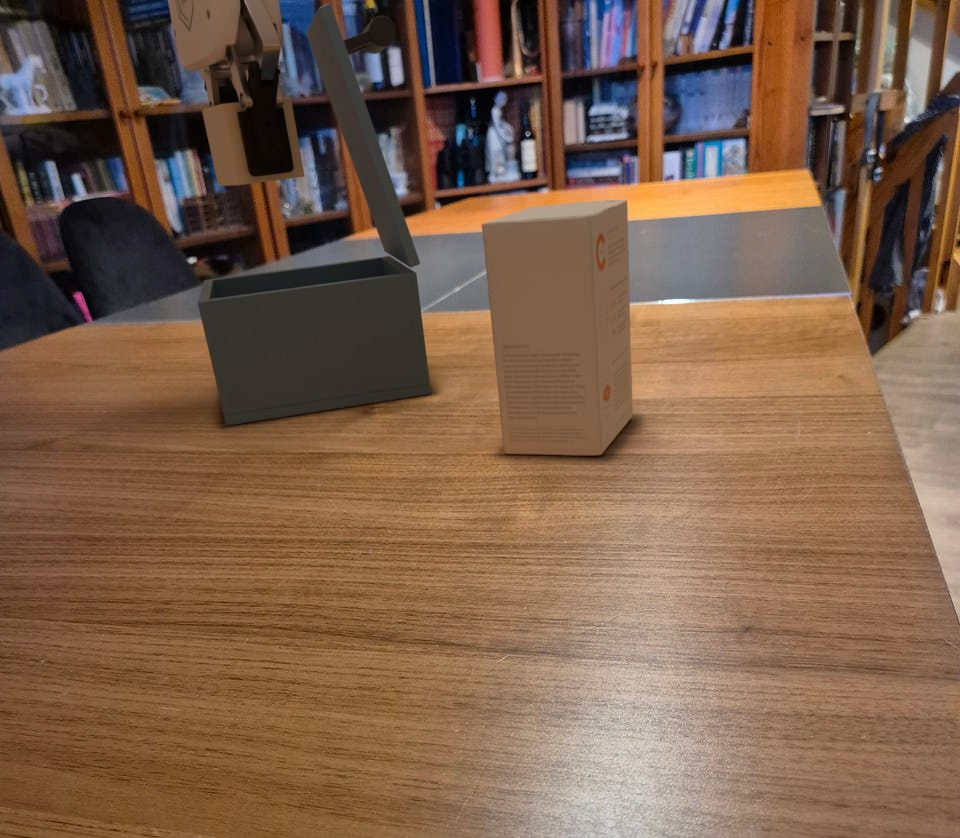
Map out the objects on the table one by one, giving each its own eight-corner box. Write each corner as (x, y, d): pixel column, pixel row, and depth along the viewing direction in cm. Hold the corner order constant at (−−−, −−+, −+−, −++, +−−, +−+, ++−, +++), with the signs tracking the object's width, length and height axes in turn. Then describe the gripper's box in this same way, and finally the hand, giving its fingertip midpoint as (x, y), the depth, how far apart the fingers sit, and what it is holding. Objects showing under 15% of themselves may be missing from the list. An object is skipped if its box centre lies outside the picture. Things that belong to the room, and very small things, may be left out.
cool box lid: (318, 7, 59) (391, -22, 59) (305, 32, 70) (366, 8, 71) (410, 268, 67) (474, 242, 67) (384, 251, 79) (439, 230, 79)
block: (238, 185, 65) (222, 103, 63) (218, 186, 69) (201, 109, 67) (304, 176, 67) (291, 97, 65) (281, 178, 71) (267, 103, 69)
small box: (542, 417, 63) (527, 205, 56) (634, 417, 60) (630, 197, 54) (500, 455, 56) (478, 221, 50) (602, 457, 54) (592, 212, 48)
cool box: (226, 426, 69) (197, 302, 65) (227, 387, 81) (203, 280, 76) (431, 394, 71) (416, 272, 67) (403, 361, 83) (389, 255, 79)
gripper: (110, -107, 64) (178, 183, 73) (173, -187, 51) (247, 179, 60) (214, -106, 68) (268, 172, 76) (300, -182, 54) (352, 165, 63)
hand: (258, 172), depth 68 cm, fingers closed on block, 5 cm apart
